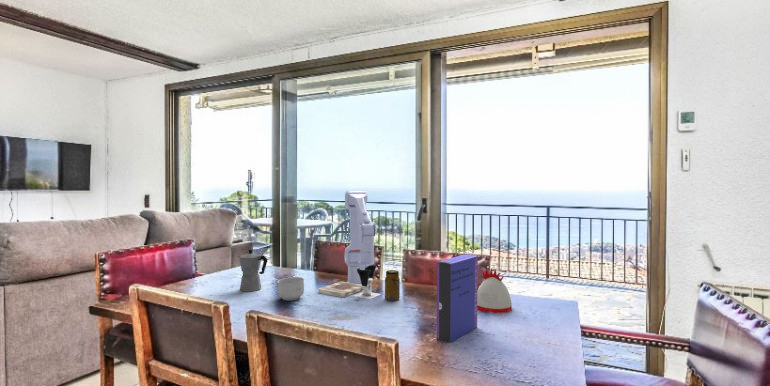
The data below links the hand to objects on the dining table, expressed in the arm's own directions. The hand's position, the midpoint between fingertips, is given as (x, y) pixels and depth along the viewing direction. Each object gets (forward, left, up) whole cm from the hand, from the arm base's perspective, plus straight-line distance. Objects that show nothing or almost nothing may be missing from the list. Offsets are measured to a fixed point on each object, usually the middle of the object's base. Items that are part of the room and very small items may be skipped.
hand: (367, 283), depth 175 cm
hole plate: (0, -13, -5) cm, 14 cm away
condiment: (0, +13, -6) cm, 14 cm away
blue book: (+20, +49, -5) cm, 53 cm away
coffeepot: (+19, -49, -5) cm, 53 cm away
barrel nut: (0, 0, -5) cm, 5 cm away
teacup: (+19, -25, -6) cm, 32 cm away
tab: (0, 0, -5) cm, 5 cm away
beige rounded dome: (-13, +50, -6) cm, 52 cm away
